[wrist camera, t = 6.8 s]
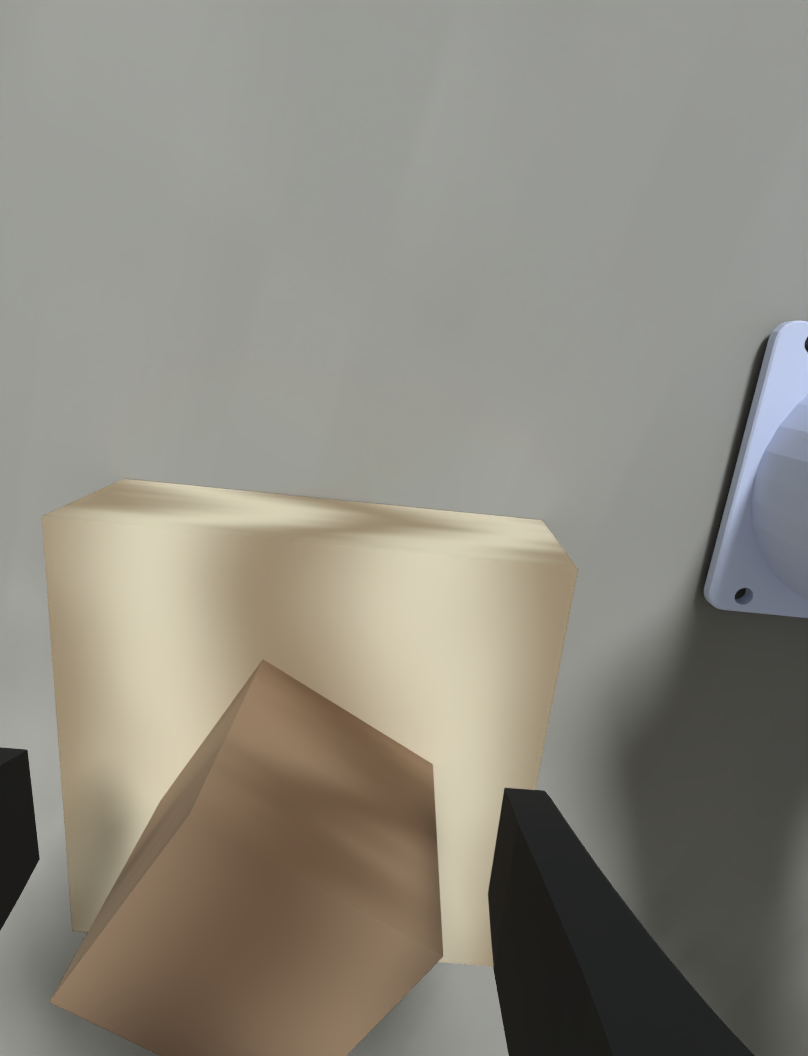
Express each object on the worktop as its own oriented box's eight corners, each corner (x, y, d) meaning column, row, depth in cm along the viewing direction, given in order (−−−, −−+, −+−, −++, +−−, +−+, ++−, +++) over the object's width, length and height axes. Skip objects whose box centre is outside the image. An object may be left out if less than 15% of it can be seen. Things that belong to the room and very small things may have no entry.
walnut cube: (433, 764, 15) (443, 956, 10) (323, 891, 16) (287, 1116, 12) (263, 659, 14) (188, 815, 10) (160, 800, 16) (49, 1001, 11)
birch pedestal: (541, 520, 18) (578, 568, 14) (484, 853, 21) (501, 967, 17) (123, 478, 17) (41, 516, 13) (134, 822, 21) (72, 930, 17)
